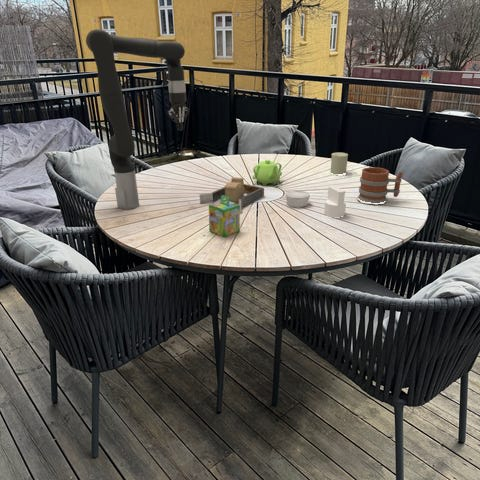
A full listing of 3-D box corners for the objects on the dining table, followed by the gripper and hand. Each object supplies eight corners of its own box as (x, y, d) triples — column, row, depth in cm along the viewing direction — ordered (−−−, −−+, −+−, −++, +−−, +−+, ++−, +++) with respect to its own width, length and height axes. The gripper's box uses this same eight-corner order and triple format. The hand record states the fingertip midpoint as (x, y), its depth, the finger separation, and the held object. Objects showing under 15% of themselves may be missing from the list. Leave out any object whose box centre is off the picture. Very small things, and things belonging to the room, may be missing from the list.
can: (326, 173, 246) (328, 152, 240) (339, 171, 249) (341, 150, 244) (336, 177, 238) (338, 156, 233) (349, 174, 241) (351, 154, 236)
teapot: (287, 181, 232) (288, 159, 227) (276, 188, 221) (277, 165, 215) (261, 177, 239) (261, 155, 234) (249, 184, 228) (249, 161, 222)
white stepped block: (320, 212, 188) (322, 187, 183) (337, 209, 191) (339, 184, 186) (331, 219, 181) (333, 193, 175) (348, 216, 183) (351, 190, 178)
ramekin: (310, 201, 202) (311, 191, 200) (307, 209, 192) (308, 198, 190) (287, 199, 205) (287, 189, 203) (283, 207, 195) (283, 196, 193)
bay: (240, 213, 189) (240, 203, 187) (199, 203, 201) (198, 194, 199) (269, 197, 208) (270, 188, 206) (230, 189, 220) (230, 181, 218)
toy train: (244, 195, 211) (244, 176, 207) (236, 207, 196) (235, 186, 192) (234, 194, 213) (233, 175, 208) (224, 206, 198) (224, 185, 193)
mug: (355, 195, 209) (358, 165, 202) (395, 196, 206) (399, 166, 200) (358, 205, 196) (362, 174, 190) (401, 206, 194) (406, 174, 188)
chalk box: (208, 231, 171) (207, 196, 165) (225, 224, 177) (224, 191, 171) (224, 237, 165) (223, 202, 159) (240, 231, 171) (240, 196, 165)
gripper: (173, 92, 182) (176, 133, 189) (193, 90, 192) (195, 128, 199) (160, 92, 186) (164, 131, 193) (181, 89, 196) (183, 127, 203)
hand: (180, 130), depth 196 cm, fingers closed
